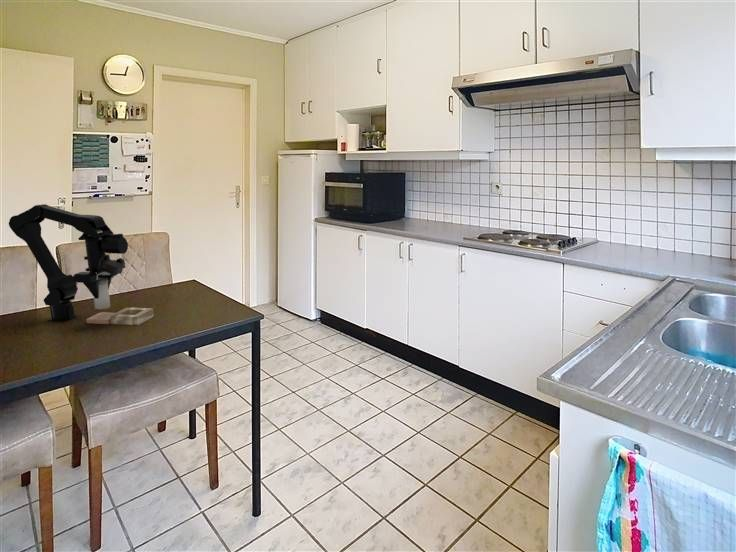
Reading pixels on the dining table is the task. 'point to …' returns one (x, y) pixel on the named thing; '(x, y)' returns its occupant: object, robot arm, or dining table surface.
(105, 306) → the plug
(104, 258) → the robot arm
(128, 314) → the beige square frame
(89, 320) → the tile
